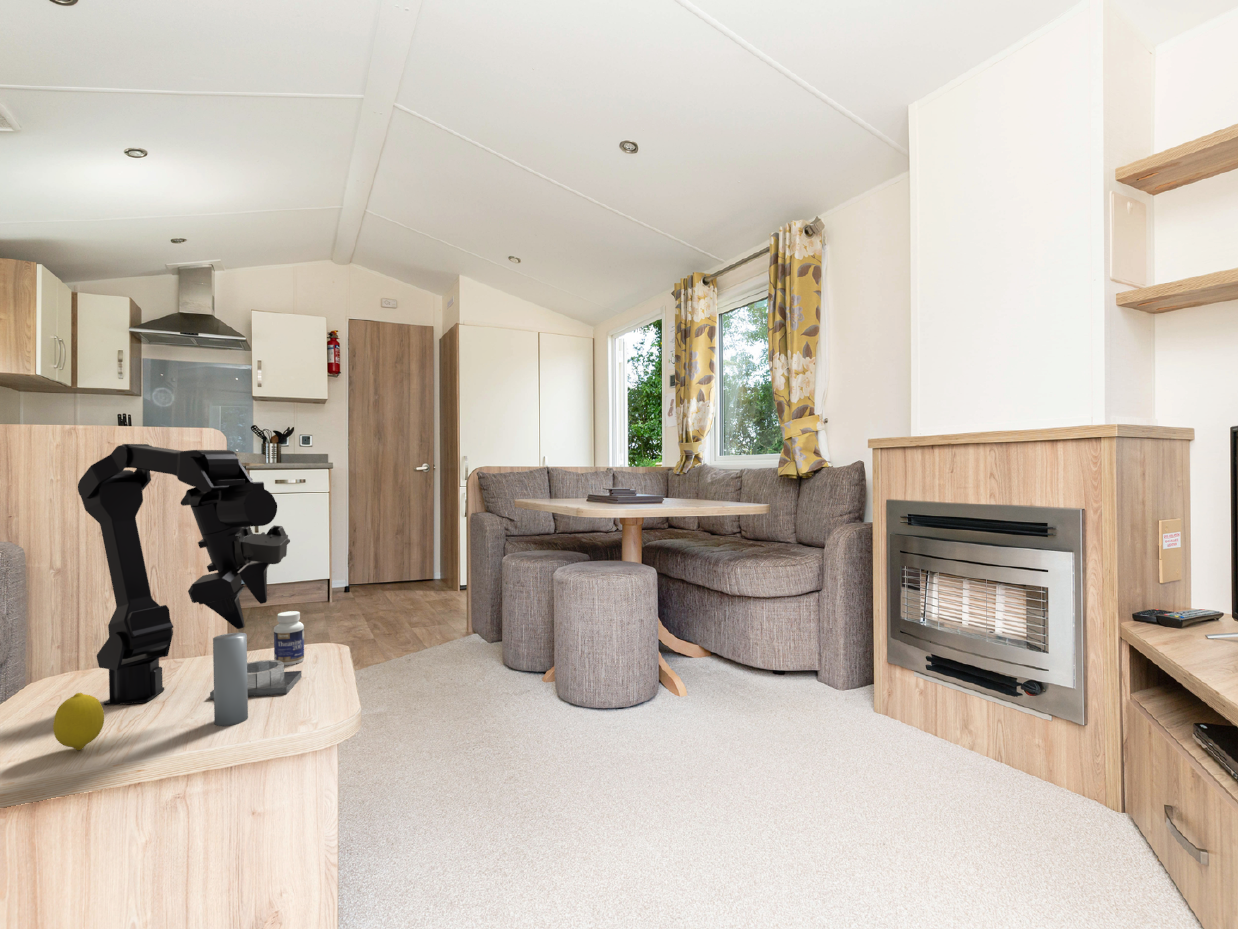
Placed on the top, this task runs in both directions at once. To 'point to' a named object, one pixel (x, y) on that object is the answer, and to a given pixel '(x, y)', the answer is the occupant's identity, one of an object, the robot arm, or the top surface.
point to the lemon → (78, 721)
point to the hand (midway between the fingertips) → (252, 615)
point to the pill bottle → (289, 638)
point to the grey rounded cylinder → (230, 679)
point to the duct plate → (275, 687)
